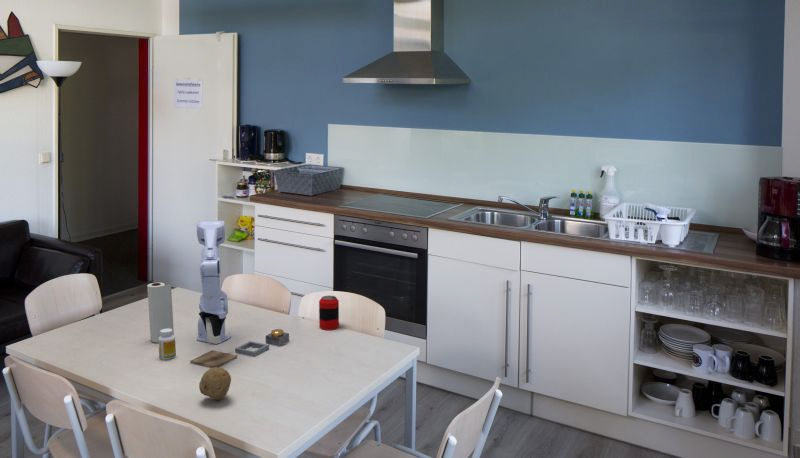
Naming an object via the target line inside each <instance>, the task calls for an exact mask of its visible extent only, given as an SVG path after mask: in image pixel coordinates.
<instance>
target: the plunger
mask: <svg viewBox="0 0 800 458" xmlns="http://www.w3.org/2000/svg"><path fill="white" fill-rule="evenodd" d="M283 332H284V330H283V329H282V328H281V329H280V328H279V329H278V328H276V329H271V331H270V333H271V335H272V336H282V335H283Z"/></svg>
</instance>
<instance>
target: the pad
mask: <svg viewBox="0 0 800 458" xmlns="http://www.w3.org/2000/svg"><path fill="white" fill-rule="evenodd" d="M236 359H238V355H237V354H233V353H227V352H223V351H218V350H209V351H208V352H205V353H204V354H202V355H198V356H197V357H195V358H192V359H191V360H189V362H190V363H189V364H193V365H199V366H202V367H207V368H210V369H211V368H215V367H218V368H221V367H222V366H224V365H226V364H228V363H230V362H231V361H232V362H233V361H234V360H236Z"/></svg>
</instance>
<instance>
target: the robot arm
mask: <svg viewBox="0 0 800 458" xmlns="http://www.w3.org/2000/svg"><path fill="white" fill-rule="evenodd" d="M196 237H197V240H198V243H199V244H200V245H203V246H204V247H203V248H202V249H201V262H200V263H199V274H200V279H201V285H202V286H201V287H202V293H201V294H200V297H199V303H198V308H199V312H198V316H199V318H198V321H197V336H198V337H197V338H196V340H197V341H200V342H204V343H205V342H206V343H208V342H207V331H206V318H207V317H208V319H209V320H210V322H211V325H212V331H213V335H214V337H216V336H220V341H219V342H217V343H213V344H214V345H218V344H221V343H222V342H223V341H227V340H228V339H231V335H226V319H227V315H228V314H229V300H228V295H227V292H225V291H224V290H222V289H221V281H220V280H221V276H222V275H221V274H222V271H221V270H222V269H221V261H220V260H221V259H220V249H219V248H220V245H222V244H224V243H225V240H226V222H225V220H206V221H205V220H204V221H200V220H198V221H197V222H196ZM209 316H211V317H209Z"/></svg>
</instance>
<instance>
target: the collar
mask: <svg viewBox="0 0 800 458" xmlns="http://www.w3.org/2000/svg"><path fill="white" fill-rule="evenodd" d="M250 347H252V348H257V349H255V350H249V349H248V348H250ZM267 350H270V344H266V343H261V342H255V341H252V340H250V341H248V342H245V343H243V344H241V345H239V346H238V347H236V348H234V353H235V354H240V355H245V356H250V357H254V358H255V357H256V356H259V355H260V354H262V353H265V352H266V351H267Z"/></svg>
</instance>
